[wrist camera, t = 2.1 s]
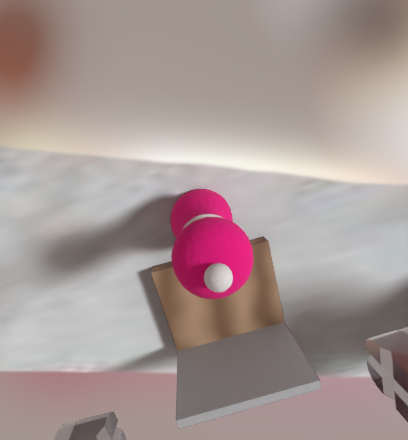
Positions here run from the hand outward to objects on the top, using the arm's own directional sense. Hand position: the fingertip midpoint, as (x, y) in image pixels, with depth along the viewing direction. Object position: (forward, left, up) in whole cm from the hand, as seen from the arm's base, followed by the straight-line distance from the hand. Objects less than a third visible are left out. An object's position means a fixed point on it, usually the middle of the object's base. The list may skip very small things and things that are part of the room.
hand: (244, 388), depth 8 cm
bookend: (0, +13, -27) cm, 30 cm away
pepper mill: (0, 0, -27) cm, 27 cm away
